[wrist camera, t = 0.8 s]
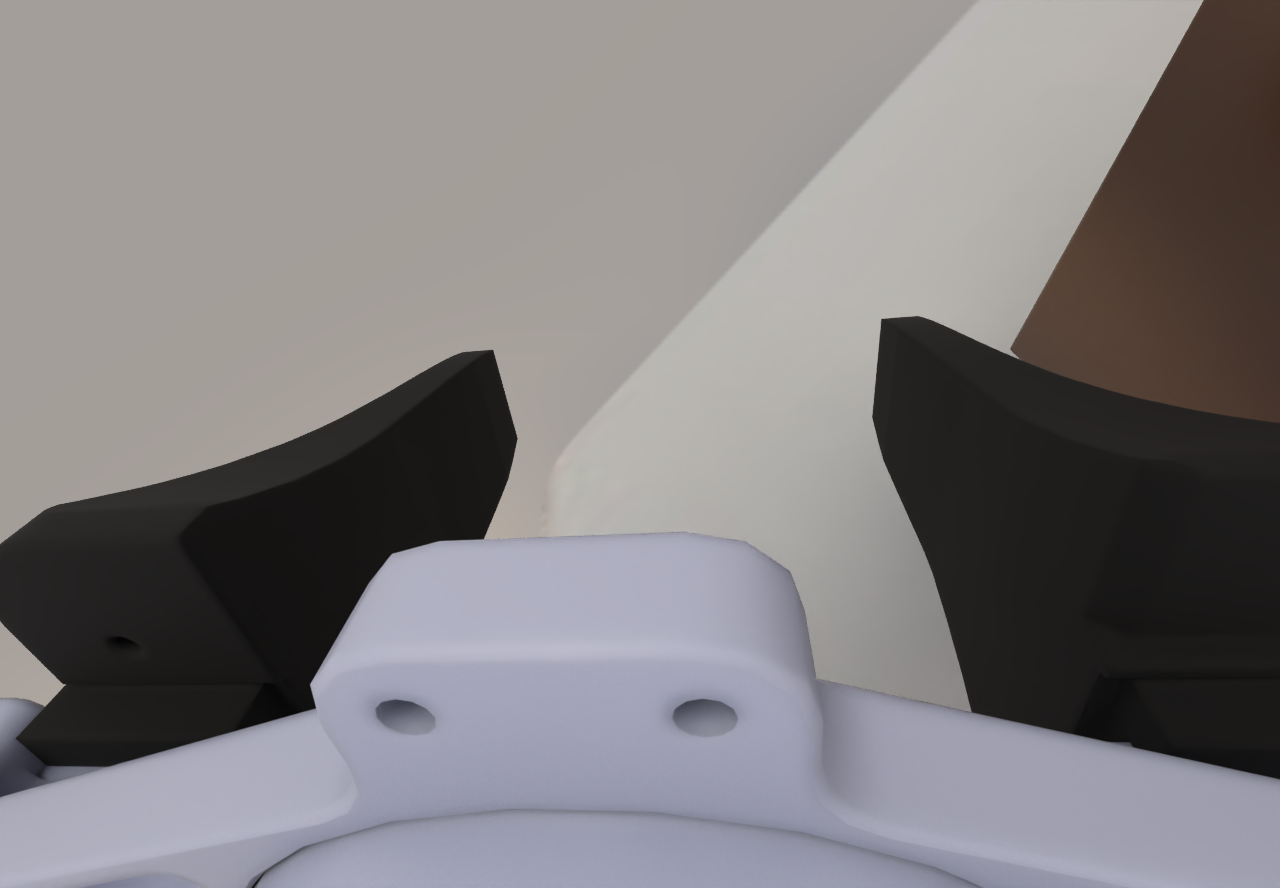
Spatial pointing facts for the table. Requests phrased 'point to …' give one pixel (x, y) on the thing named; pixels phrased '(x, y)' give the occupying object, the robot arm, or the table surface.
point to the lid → (1183, 236)
